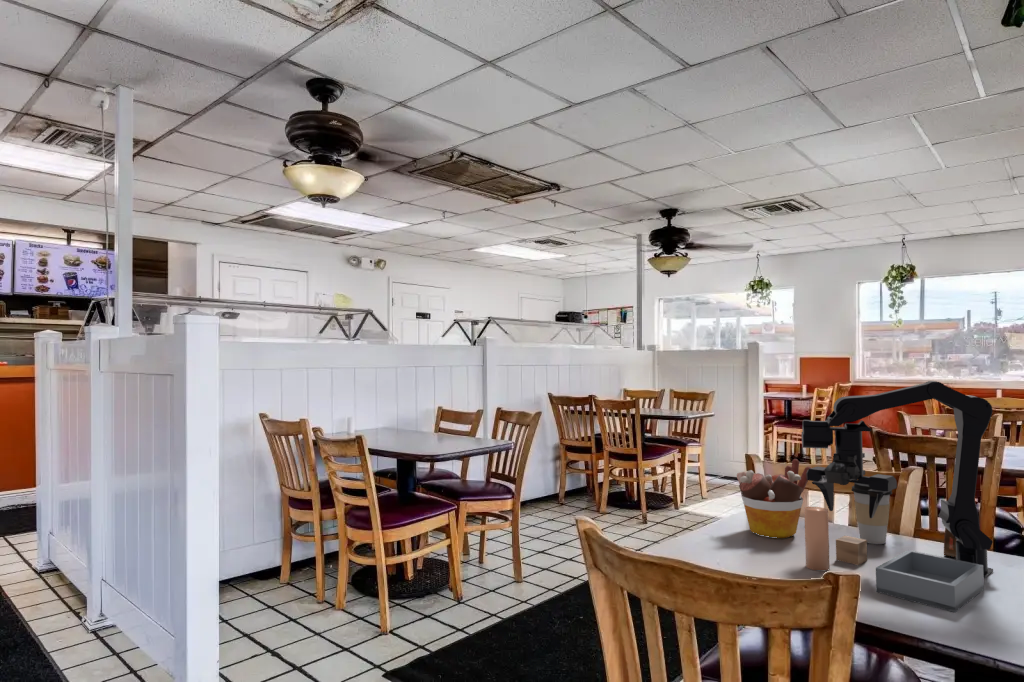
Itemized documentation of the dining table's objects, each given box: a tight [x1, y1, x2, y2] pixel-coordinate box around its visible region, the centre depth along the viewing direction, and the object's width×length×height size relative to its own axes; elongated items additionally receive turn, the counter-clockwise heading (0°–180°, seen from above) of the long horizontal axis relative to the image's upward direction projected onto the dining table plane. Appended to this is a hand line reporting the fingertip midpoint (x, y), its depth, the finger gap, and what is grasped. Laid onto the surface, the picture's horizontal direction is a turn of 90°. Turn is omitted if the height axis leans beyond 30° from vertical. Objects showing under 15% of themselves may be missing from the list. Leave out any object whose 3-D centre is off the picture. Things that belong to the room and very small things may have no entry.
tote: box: [875, 549, 985, 613], centre depth 132 cm, size 18×14×5 cm
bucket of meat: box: [736, 458, 812, 539], centre depth 175 cm, size 20×16×20 cm
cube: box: [835, 535, 868, 566], centre depth 151 cm, size 5×5×5 cm
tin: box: [943, 526, 957, 558], centre depth 156 cm, size 15×3×8 cm, turn 141°
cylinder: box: [803, 506, 831, 572], centre depth 147 cm, size 5×5×14 cm
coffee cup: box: [851, 483, 893, 545], centre depth 167 cm, size 9×9×15 cm
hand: (850, 514), depth 152 cm, fingers open, 9 cm apart
